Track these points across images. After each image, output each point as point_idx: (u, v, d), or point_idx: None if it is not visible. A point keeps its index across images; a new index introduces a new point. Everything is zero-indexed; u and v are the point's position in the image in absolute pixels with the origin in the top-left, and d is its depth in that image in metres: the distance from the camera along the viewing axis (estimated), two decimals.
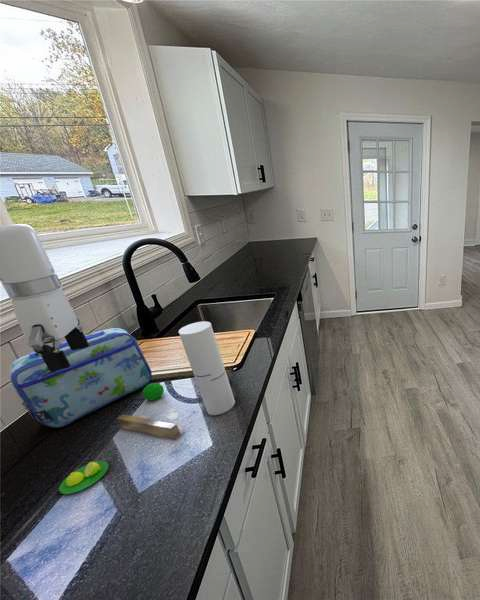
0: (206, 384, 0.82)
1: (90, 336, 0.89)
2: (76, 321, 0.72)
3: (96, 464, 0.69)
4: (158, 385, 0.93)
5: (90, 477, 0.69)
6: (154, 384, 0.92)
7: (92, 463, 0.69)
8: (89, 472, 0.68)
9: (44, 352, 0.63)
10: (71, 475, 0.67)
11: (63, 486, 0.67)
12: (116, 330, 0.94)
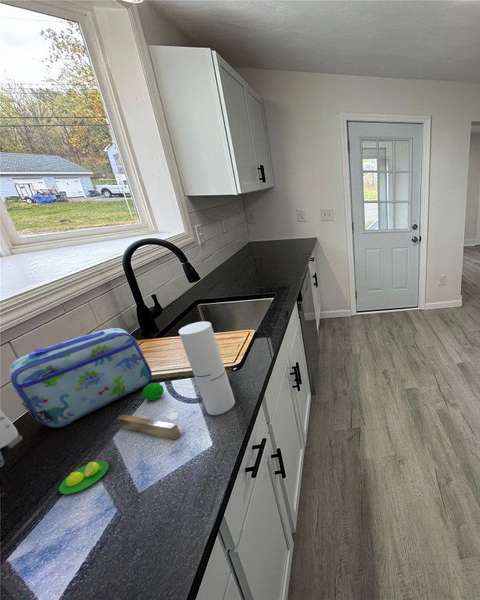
0: (206, 384, 0.82)
1: (90, 336, 0.89)
2: (9, 437, 0.55)
3: (96, 464, 0.69)
4: (158, 385, 0.93)
5: (90, 477, 0.69)
6: (154, 384, 0.92)
7: (92, 463, 0.69)
8: (89, 472, 0.68)
9: None
10: (71, 475, 0.67)
11: (63, 486, 0.67)
12: (116, 330, 0.94)
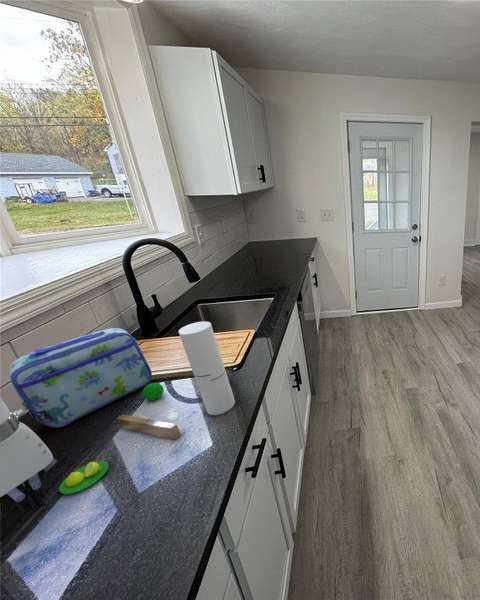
0: (206, 384, 0.82)
1: (90, 336, 0.89)
2: (46, 461, 0.60)
3: (96, 464, 0.69)
4: (158, 385, 0.93)
5: (90, 477, 0.69)
6: (154, 384, 0.92)
7: (92, 463, 0.69)
8: (89, 472, 0.68)
9: None
10: (71, 475, 0.67)
11: (63, 486, 0.67)
12: (116, 330, 0.94)
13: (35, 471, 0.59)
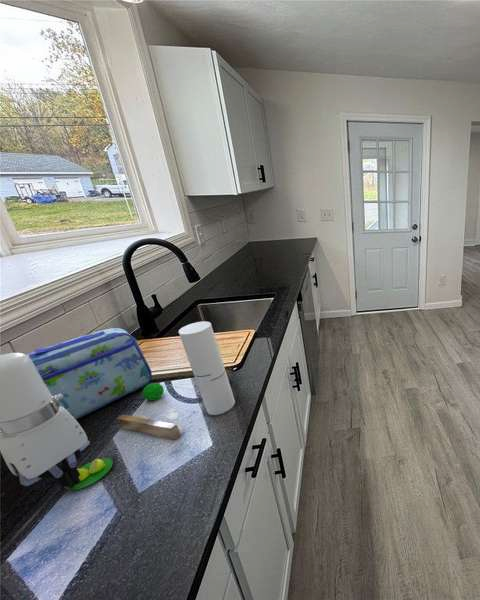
0: (206, 384, 0.82)
1: (90, 336, 0.89)
2: (81, 442, 0.66)
3: (101, 461, 0.70)
4: (158, 385, 0.93)
5: (94, 474, 0.70)
6: (154, 384, 0.92)
7: (97, 460, 0.70)
8: (93, 469, 0.69)
9: None
10: None
11: None
12: (116, 330, 0.94)
13: (72, 450, 0.64)
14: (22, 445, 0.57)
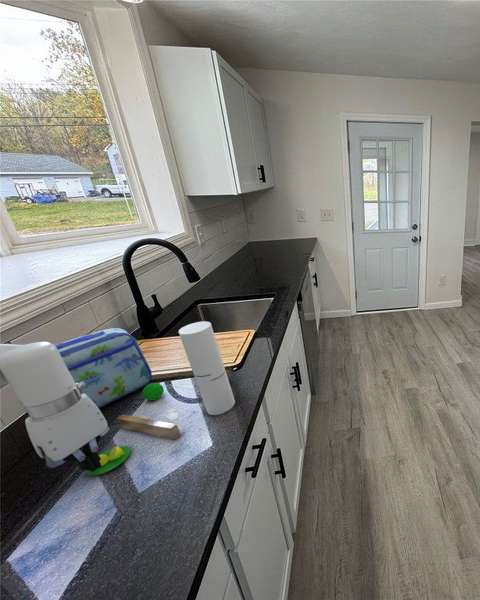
0: (206, 384, 0.82)
1: (90, 336, 0.89)
2: (102, 428, 0.69)
3: (119, 449, 0.73)
4: (158, 385, 0.93)
5: (113, 461, 0.73)
6: (154, 384, 0.92)
7: (116, 448, 0.73)
8: (112, 457, 0.72)
9: None
10: None
11: None
12: (116, 330, 0.94)
13: (94, 435, 0.68)
14: (49, 429, 0.61)
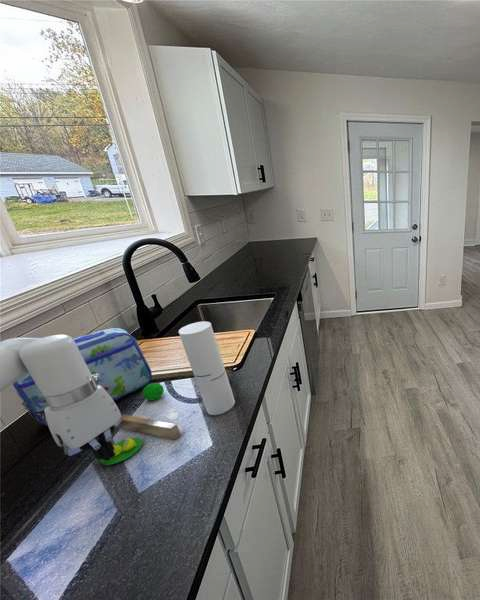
0: (206, 384, 0.82)
1: (90, 336, 0.89)
2: (116, 418, 0.72)
3: (132, 441, 0.75)
4: (158, 385, 0.93)
5: (126, 452, 0.75)
6: (154, 384, 0.92)
7: (128, 439, 0.75)
8: (124, 448, 0.74)
9: None
10: None
11: None
12: (116, 330, 0.94)
13: (108, 425, 0.70)
14: (67, 418, 0.63)
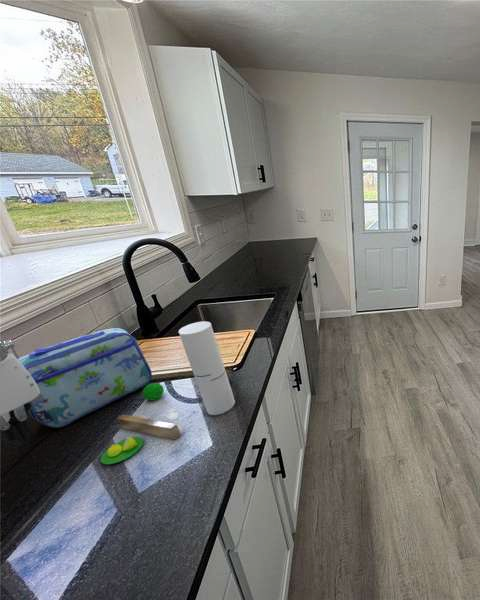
0: (206, 384, 0.82)
1: (90, 336, 0.89)
2: (32, 395, 0.62)
3: (132, 440, 0.75)
4: (158, 385, 0.93)
5: (127, 451, 0.75)
6: (154, 384, 0.92)
7: (129, 439, 0.75)
8: (125, 447, 0.74)
9: None
10: (111, 447, 0.74)
11: (105, 455, 0.74)
12: (116, 330, 0.94)
13: (21, 402, 0.60)
14: None
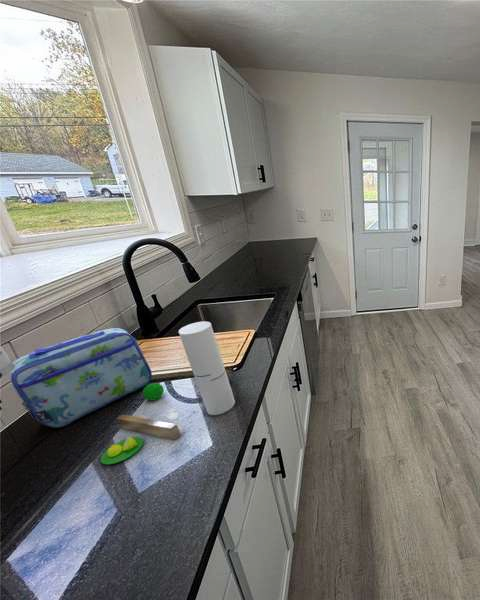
0: (206, 384, 0.82)
1: (90, 336, 0.89)
2: (1, 364, 0.58)
3: (132, 440, 0.75)
4: (158, 385, 0.93)
5: (127, 451, 0.75)
6: (154, 384, 0.92)
7: (129, 439, 0.75)
8: (125, 447, 0.74)
9: None
10: (111, 447, 0.74)
11: (105, 455, 0.74)
12: (116, 330, 0.94)
13: None
14: None
